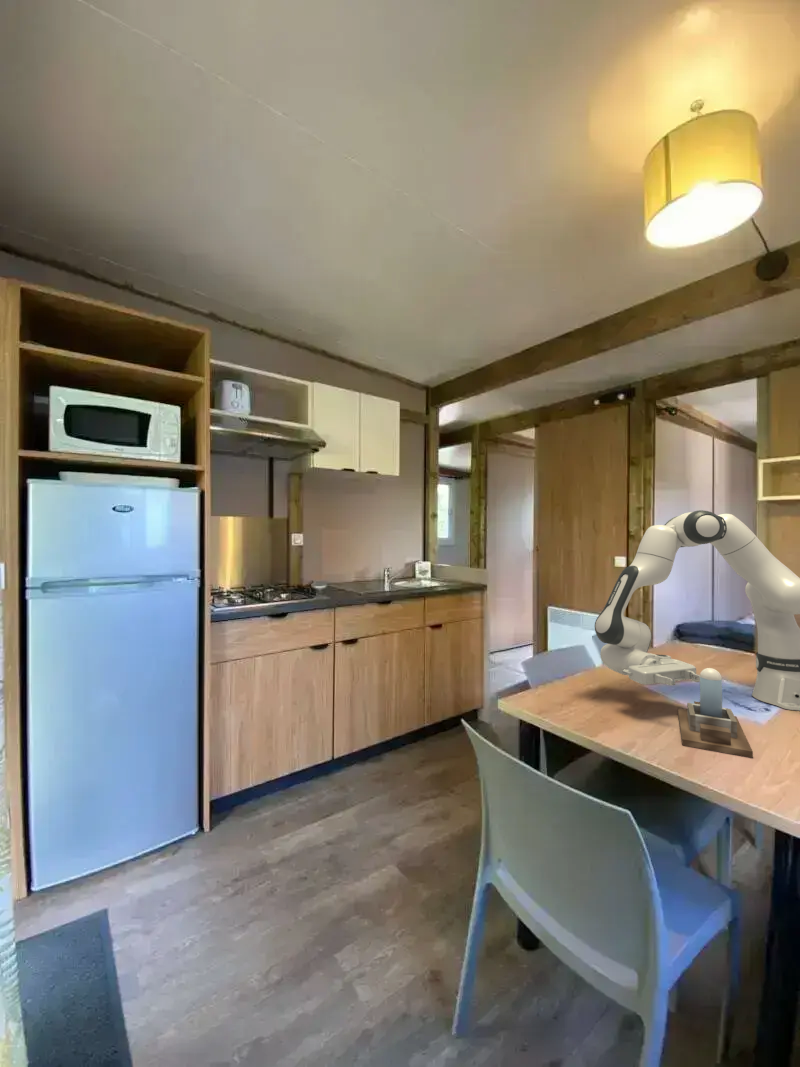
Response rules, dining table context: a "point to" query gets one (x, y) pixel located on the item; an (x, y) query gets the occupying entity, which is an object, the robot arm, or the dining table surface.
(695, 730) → the cradle
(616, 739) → the dining table surface
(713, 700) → the dome-topped blue cylinder
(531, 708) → the dining table surface
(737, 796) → the dining table surface
